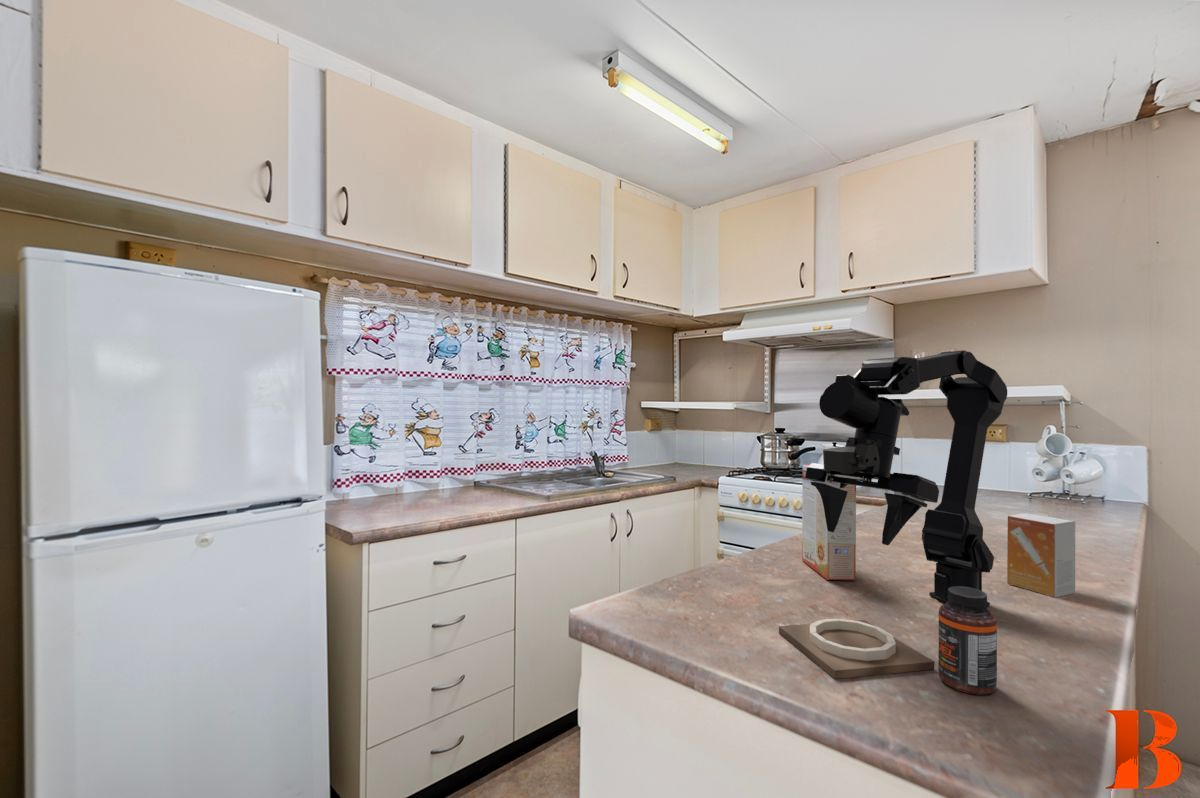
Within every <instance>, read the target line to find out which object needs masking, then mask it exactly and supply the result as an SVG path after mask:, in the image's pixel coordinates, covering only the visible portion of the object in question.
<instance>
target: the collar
mask: <svg viewBox="0 0 1200 798" xmlns="http://www.w3.org/2000/svg"><path fill="white" fill-rule="evenodd" d="M809 624H810V641H811V642H812V643H813V644H814V645H816V646H817V647H818V648H820V649H821V650H823V651H826V652H829V653H831V654H834V655H837V656H840V657H843V658H850V659H857V660H864V661H870V660H881V659H887V658H889V657H890V656H892V655H893V654H895V653H896V643H895V641H894V638H895V637H894V636H893V634H891V633H889V632H887V631H886V630H885V629H883V628H881V627H879V626H876V625H874V624H872V625H870V624H871V623H870V624H867V623H863V622H860V621H855V620H852V619H851V620H850V619H846V618H845V619H844V618H828V619H826V618H825V619H819V620H817V621H815V622H812V623H809ZM873 625H874V626H873ZM833 629H843V630H851V631H858V632H861V633H865V634H868V635H871V636H874V637H876V638H878V639H879V640H881V641H882V642H884V643H886V644H885V645H883V646H882V647H877V648H865V649H863V648H856V647H849V646H843V645H840V644H837V643H834V642H831V641H828V640H826V639H824V638H823V637H822V636H820V635H819V634H818V633H820V632H822V631H824V630H833ZM893 637H894V638H893Z"/></svg>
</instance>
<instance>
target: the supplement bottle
mask: <svg viewBox="0 0 1200 798" xmlns="http://www.w3.org/2000/svg"><path fill="white" fill-rule="evenodd" d="M947 598H948V601H947V603H945V602H944V603H943V604H942V605H940V607H939V609H938V656H937V657H938V663H937V664H938V667H937V668H938V677H939V678H940V680H941V681H942V682H943V683H945V684H946V685H947V686H948V687H951V688H953V689H955V690H957V691H959V692H964V693H966V694H972V695H978V696H981V695H982V696H983V695H989V694H993V693H994V692H995V691H996V690H997V683H998V682H997V680H998V678H997V677H998V675H997V674H998V672H997V671H998V666H997V664H998V658H997V657H998V653H997V652H998V632H997V631H998V630H997V629H998V622H997V617H996V615H995V614H994V612H992V611H991V610H989V608H987V607H988V606H987V605H988V603H987V601H988V595H987V593H986V592H984V591H983V590H982V591H980V590H978V589H974V588H969V587H963V586H954V587H950V588H948V596H947Z"/></svg>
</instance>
